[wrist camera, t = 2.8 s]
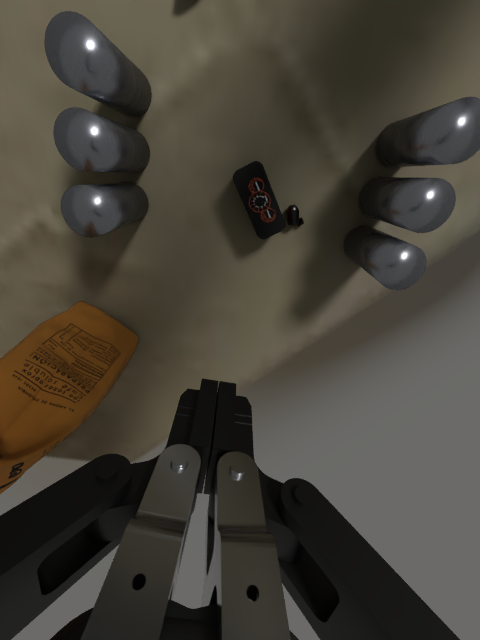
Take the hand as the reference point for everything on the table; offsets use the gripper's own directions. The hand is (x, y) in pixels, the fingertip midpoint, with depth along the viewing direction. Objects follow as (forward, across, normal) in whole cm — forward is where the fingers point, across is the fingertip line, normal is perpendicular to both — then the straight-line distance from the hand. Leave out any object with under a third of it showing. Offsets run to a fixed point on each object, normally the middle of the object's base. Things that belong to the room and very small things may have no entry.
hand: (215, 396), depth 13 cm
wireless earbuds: (+22, -3, -7) cm, 23 cm away
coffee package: (+22, +16, +13) cm, 30 cm away
